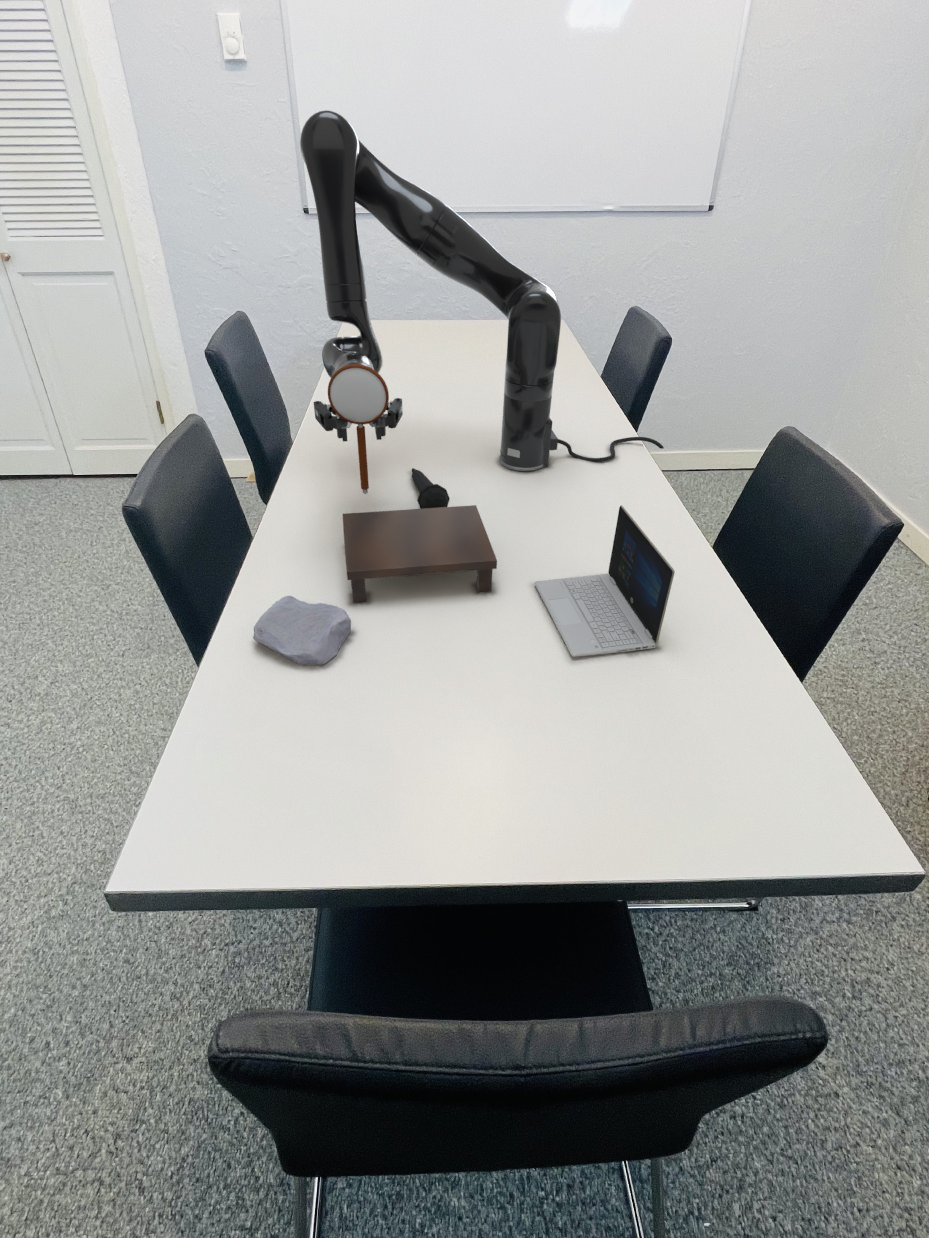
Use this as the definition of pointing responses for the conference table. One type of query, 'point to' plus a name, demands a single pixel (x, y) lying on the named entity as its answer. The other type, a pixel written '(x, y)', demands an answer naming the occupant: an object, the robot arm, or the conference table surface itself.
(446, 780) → the conference table surface
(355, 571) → the walnut table
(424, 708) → the conference table surface
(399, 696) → the conference table surface
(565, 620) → the laptop
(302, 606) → the stone block
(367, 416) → the magnifying glass
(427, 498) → the microphone
